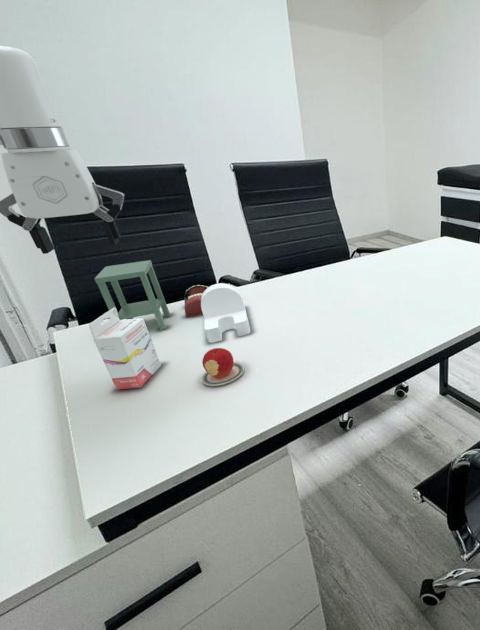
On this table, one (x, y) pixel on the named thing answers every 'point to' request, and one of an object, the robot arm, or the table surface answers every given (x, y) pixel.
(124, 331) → the ink cartridge box
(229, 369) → the apple
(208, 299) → the white phone stand
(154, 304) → the high shelf
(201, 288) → the teeth model
